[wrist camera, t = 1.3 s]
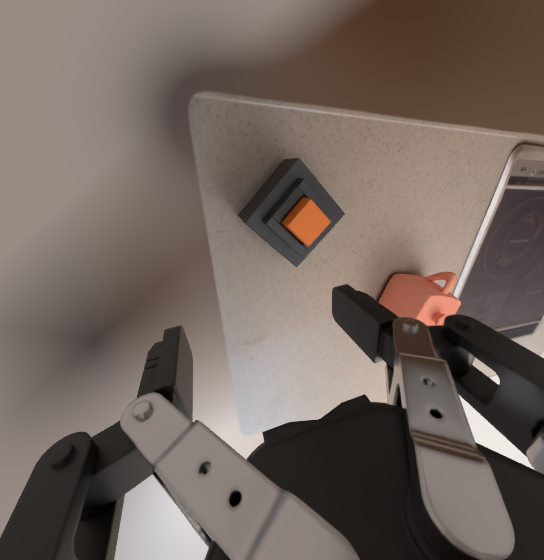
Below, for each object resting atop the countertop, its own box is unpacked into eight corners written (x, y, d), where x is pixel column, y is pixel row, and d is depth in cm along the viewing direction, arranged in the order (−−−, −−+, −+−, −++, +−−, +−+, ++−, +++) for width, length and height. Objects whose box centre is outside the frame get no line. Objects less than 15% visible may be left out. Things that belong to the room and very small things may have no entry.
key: (280, 222, 29) (287, 226, 27) (302, 196, 28) (311, 198, 26) (301, 241, 31) (308, 247, 29) (322, 218, 30) (331, 221, 28)
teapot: (436, 264, 49) (490, 285, 40) (396, 334, 55) (435, 366, 46) (398, 252, 45) (449, 273, 36) (359, 329, 51) (394, 364, 42)
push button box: (238, 215, 34) (247, 225, 28) (284, 159, 32) (305, 156, 26) (284, 256, 38) (301, 272, 32) (326, 208, 37) (352, 216, 31)
